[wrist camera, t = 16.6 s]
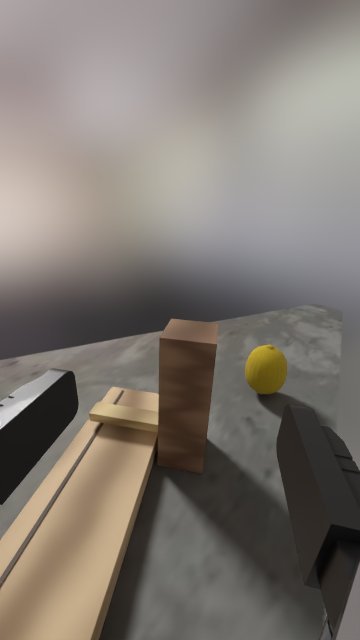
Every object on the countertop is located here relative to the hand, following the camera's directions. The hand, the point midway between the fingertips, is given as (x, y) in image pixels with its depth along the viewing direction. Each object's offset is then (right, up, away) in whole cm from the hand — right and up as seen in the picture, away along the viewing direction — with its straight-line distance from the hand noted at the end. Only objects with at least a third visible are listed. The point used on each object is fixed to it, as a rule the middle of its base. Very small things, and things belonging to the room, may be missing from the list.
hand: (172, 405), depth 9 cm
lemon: (+12, -8, +26) cm, 30 cm away
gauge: (-3, -10, +17) cm, 20 cm away
